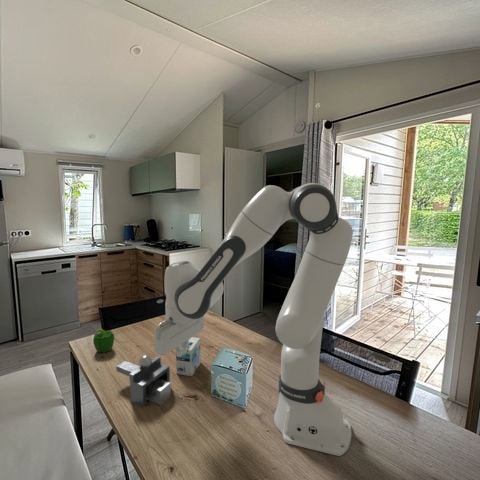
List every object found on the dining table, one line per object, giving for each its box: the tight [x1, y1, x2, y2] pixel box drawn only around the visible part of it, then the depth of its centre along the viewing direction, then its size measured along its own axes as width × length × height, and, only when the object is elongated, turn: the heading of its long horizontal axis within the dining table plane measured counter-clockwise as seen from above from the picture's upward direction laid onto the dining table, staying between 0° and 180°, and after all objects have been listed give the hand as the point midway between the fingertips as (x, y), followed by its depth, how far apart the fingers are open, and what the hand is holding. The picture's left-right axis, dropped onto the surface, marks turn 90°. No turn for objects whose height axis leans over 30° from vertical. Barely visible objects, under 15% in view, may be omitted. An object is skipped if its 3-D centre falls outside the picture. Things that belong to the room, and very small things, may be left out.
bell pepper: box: [92, 328, 115, 353], centre depth 130 cm, size 8×8×10 cm
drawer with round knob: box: [115, 354, 171, 408], centre depth 103 cm, size 18×13×13 cm
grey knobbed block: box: [146, 378, 172, 405], centre depth 99 cm, size 8×5×5 cm, turn 64°
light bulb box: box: [175, 336, 202, 377], centre depth 116 cm, size 11×7×11 cm, turn 168°
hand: (181, 354), depth 92 cm, fingers closed
